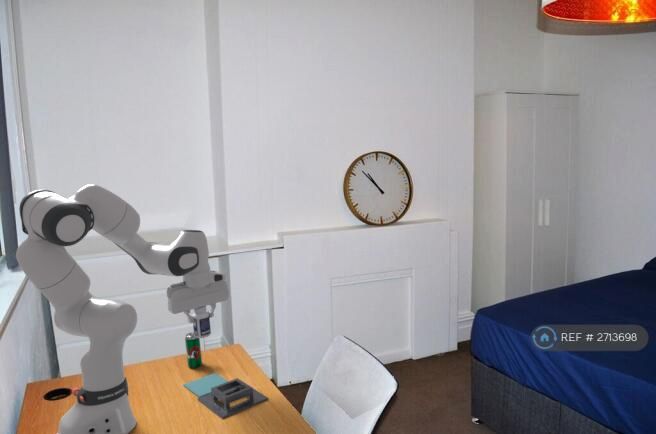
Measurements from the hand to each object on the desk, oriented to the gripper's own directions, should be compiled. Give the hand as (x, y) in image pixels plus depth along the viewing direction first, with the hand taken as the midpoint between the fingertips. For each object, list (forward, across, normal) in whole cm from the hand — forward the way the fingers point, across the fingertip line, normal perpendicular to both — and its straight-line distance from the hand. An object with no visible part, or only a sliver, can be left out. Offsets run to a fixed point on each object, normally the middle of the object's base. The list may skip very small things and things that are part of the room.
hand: (201, 319), depth 176 cm
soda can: (+23, +4, +18) cm, 30 cm away
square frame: (+23, +1, -15) cm, 27 cm away
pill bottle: (+6, 0, 0) cm, 6 cm away
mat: (+23, 0, 0) cm, 23 cm away
